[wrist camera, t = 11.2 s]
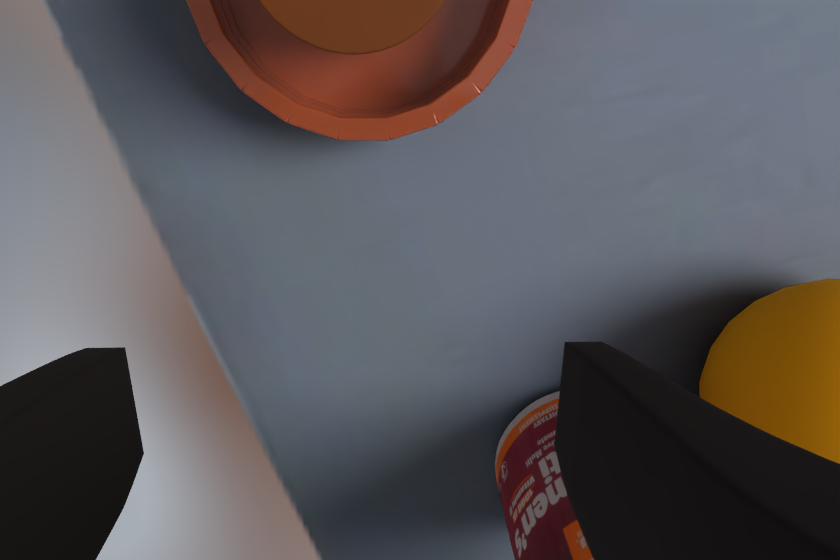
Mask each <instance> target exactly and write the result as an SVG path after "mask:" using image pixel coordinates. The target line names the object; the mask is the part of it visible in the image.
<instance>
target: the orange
mask: <svg viewBox="0 0 840 560" xmlns="http://www.w3.org/2000/svg"><path fill="white" fill-rule="evenodd" d="M699 397H700V398H702V399H703V400H705V401H707V402H709V403H711V404H712V405H714V406H716V407H718V408H720V409H722V410H724V411H726V412H728V413H729V414H731V415H733V416H735V417H737V418H739V419H741V420H743V421H745V422H747V423H749V424H751V425H753V426H755V427H757V428H759V429H761V430H763V431H765V432H767V433H769V434H771V435H774V436H776V437H778V438H780V439H782V440H785V441H787V442H789V443H791V444H794V445H796V446H798V447H801V448H803V449H805V450H808V451H810V452H812V453H815V454H817V455H819V456H822V457H824V458H826V459H829V460H831V461H834V462H836V463H839V464H840V279H825V280H820V281H814V282H809V283H804V284H798V285H793V286H789V287H784V288H782V289H780V290H778V291H776V292H774V293H771V294H769V295H767V296H765V297H763V298H760V299H758V300H756V301H754V302H753V303H752V304H750V305H749V306H748V307H747V308H745V309H744V310H743V311H742V312H741V313H739V314H738V315H737V316H736V317H734V318H733V319H732V320H731V321H729V322H728V324H727V325H726V327H725V328H724V329H723V331H722V332H721V334H720V335H719V336H718V338H717V339H716V340H715V342H714V343H713V345H712V346H711V348H710V351H709V354H708V357H707V360H706V363H705V365H704V368H703V371H702V374H701V378H700V382H699Z"/></svg>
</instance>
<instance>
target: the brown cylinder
mask: <svg viewBox="0 0 840 560" xmlns="http://www.w3.org/2000/svg"><path fill="white" fill-rule="evenodd" d="M258 1H259V3H260V4H261V5H262V7H263V8H264V9H265V10H266V12H267V13H268V14H269V15H270V16H271V17H272V18H273V20H275V21H276V22H277V23H278V24H279V25H280V26H281V27H282V28H283V29H285V30H286V31H287V32H289V33H290V34H292V35H293V36H295V37H296V38H297V39H299V40H301V41H303V42H305V43H307V44H309V45H311V46H314V47H316V48H319V49H322V50H325V51H329V52H334V53H338V54H350V55H356V54H369V53H374V52H379V51H383V50H385V49H388V48H391V47H394V46H396V45H398V44H400V43H402V42H404V41H406V40H407V39H409V38H410V37H412V36H413V35H415V34H416V33H417V32H419V31H420V30H421V29H422V28H423V27H424V26H425V25H426V24H428V23H429V22H430V21H431V19H432V18H433V17H434V16H435V15H436V13H437V12H438V11H439V10H440V8H441V7H442V5H443V3H444V2H445V0H258Z"/></svg>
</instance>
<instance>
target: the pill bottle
mask: <svg viewBox="0 0 840 560" xmlns="http://www.w3.org/2000/svg"><path fill="white" fill-rule="evenodd" d="M559 394H560V391H558V392H555V393H552V394H549V395H547V396H544V397H542V398H540V399H538V400H536V401H534V402H533V403H531V404H530V405H529V406H527V407H526V408H525V409H523V410H522V411H521V412H520V413H519V414H518V415H517V416H516V417H515V418H514V419H513V420H512V422H511V423H510V424H509V425H508V427H507V428H506V430H505V432H504V433H503V435H502V437H501V439H500V441H499V444H498V447H497V451H496V458H495V472H496V480H497V484H498V490H499V494H500V499H501V503H502V507H503V512H504V516H505V520H506V524H507V528H508V532H509V536H510V541H511V545H512V549H513V553H514V557H515V560H594V559H593V557H592V554H591V552H590V549H589V547H588V545H587V542H586V540H585V538H584V535H583V533H582V530H581V528H580V526H579V523H578V521H577V518H576V516H575V513H574V511H573V509H572V506H571V504H570V501H569V499H568V496H567V492H566V489H565V485H564V481H563V478H562V474H561V470H560V466H559V462H558V458H557V454H556V450H555V446H554V442H555V432H556V423H557V413H558V404H559Z"/></svg>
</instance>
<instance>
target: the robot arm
mask: <svg viewBox="0 0 840 560" xmlns="http://www.w3.org/2000/svg"><path fill="white" fill-rule="evenodd" d="M554 446H555V450H556V454H557V458H558V462H559V466H560V470H561V474H562V478H563V481H564V485H565V489H566V492H567V496H568V499H569V501H570V504H571V506H572V509H573V511H574V513H575V516H576V518H577V521H578V523H579V526H580V528H581V530H582V533H583V535H584V538H585V540H586V542H587V545H588V547H589V549H590V552H591V554H592V557H593V559H594V560H840V464H839V463H836V462H834V461H831V460H829V459H826V458H824V457H822V456H819V455H817V454H815V453H812V452H810V451H808V450H805V449H803V448H801V447H798V446H796V445H794V444H791V443H789V442H787V441H785V440H782V439H780V438H778V437H776V436H774V435H771V434H769V433H767V432H765V431H763V430H761V429H759V428H757V427H755V426H753V425H751V424H749V423H747V422H745V421H743V420H741V419H739V418H737V417H735V416H733V415H731V414H729V413H728V412H726V411H724V410H722V409H720V408H718V407H716V406H714V405H712V404H711V403H709V402H707V401H705V400H703V399H702V398H700V397H698V396H696V395H694V394H693V393H691V392H689V391H687V390H686V389H684V388H682V387H681V386H679V385H677V384H675V383H674V382H672V381H670V380H669V379H667V378H665V377H664V376H662V375H660V374H659V373H657V372H655V371H654V370H652V369H650V368H648V367H647V366H645V365H643V364H642V363H640V362H638V361H637V360H635V359H633V358H632V357H630V356H628V355H626V354H625V353H623V352H621V351H619V350H617V349H616V348H614V347H612V346H610V345H608V344H605V343H603V342H565V347H564V356H563V366H562V375H561V385H560V394H559V404H558V413H557V423H556V432H555V442H554ZM143 454H144V452H143V447H142V441H141V435H140V430H139V424H138V418H137V413H136V407H135V401H134V396H133V390H132V385H131V379H130V374H129V368H128V362H127V357H126V351H125V348H85V349H83V350H80V351H76V352H74V353H71V354H68V355H66V356H64V357H61V358H59V359H57V360H54V361H52V362H50V363H48V364H46V365H43V366H41V367H39V368H37V369H35V370H33V371H31V372H29V373H27V374H25V375H23V376H21V377H18V378H16V379H14V380H12V381H10V382H8V383H6V384H4V385H2V386H0V560H96V558H97V556H98V554H99V553H100V551H101V549H102V547H103V545H104V543H105V541H106V540H107V538H108V536H109V534H110V532H111V530H112V529H113V527H114V525H115V523H116V521H117V519H118V517H119V515H120V513H121V512H122V509H123V508H124V505H125V503H126V500H127V498H128V495H129V492H130V490H131V487H132V485H133V482H134V479H135V477H136V474H137V471H138V468H139V465H140V462H141V460H142V457H143Z"/></svg>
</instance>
